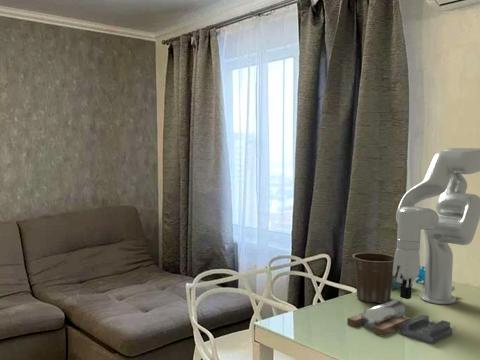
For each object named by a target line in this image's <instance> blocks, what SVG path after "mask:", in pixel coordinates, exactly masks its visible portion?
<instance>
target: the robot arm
mask: <svg viewBox="0 0 480 360" xmlns="http://www.w3.org/2000/svg"><path fill="white" fill-rule="evenodd" d="M478 172H480V147H479V148H478V147H475V148H472V147H449V148H446V149H443V150H440V151H438V152H436V154H434V156H433V157H432V160H431V162H430V164H429V166H428V169H427V172H426V174H425V175H424V178H423V179H422V181H421V182H420V183H418V184H416V185H414V186H413V187H412V188H411V189H409V190H408V191H407V192H406V193H405V194H404V195H403V196H402V198H401V200H400V202H399V205H398V207H397V210H396V213H395V221H396V223H397V233H396V234H397V235H396V248H395V252H394V255H393V256H394V263H393V277H397V280H396V282H398V283H400V286H401V287H400V289H399V291H400V294H399V296H400V298H401V299H406V300H411V299H412V290H413V289H412V288H413V284H414V281H416V280H417V278H418V277H417V276H418V275H419V268H420V269H421V267H420V266H421V265H420V264H421V261H420V260H421V258H420V250H421V249H420V248H421V235H422V234H421V231H422V230H423V232H424V234H423V235H424V240H425V241H424V242H425V261H424V262H425V264H424V267H425V269H424V270H425V285H424V287H423V288H424V292H421V293H420V294H419V299H421V300H422V301H425V302H428V303H431V304H437V305H451V304H454V303H456V300H457V299H456V297H455V296H454V295H452V292H454V291H455V290H456V287H455V286H454V285H453V267H454V265H453V264H454V254H453V251H452V248H451V246H450V244H451V245H460V246H468V245H470V244H471V243H472V241H473V240H474V238H475V235H476V231H477V228H478V224H479V222H480V196H478V195H477V194H475V193H466V192H467V189H468V183H467V180H466V178H465V177H464V175H472V174H475V173H478ZM437 196H438V199H437V201H436V204H435V205H436V206H435V208H436V209H432V208H427V207H419V206H415V205H417V204H418V203H420V202H422V201H425V200H427V199H431V198H434V197H437ZM435 210H436V211H435Z"/></svg>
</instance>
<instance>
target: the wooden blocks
mask: <svg viewBox="0 0 480 360" xmlns="http://www.w3.org/2000/svg"><path fill="white" fill-rule="evenodd" d="M361 315H362V312H361V313H358V314H355V315H352V316H350V317H347V320H346V321H347V322H346V323H347V325H348V326H351V327H354V328H355V327H359V326H361V325H364V324H363V323H362V320H361ZM409 319H412V318H411V317H408V316H405V315H404V316H400V317H398V318H395V319H392V320H390V321H387V322H385V323H382V324H380V325H377V326H375V327H374V329H373V334H375V335H378V336H382V337H383V336H385V335H388V334H390V333H393V332H396V331H397V330H398V331H399V327H400V326H401V323H402V322H405V321H407V320H409Z"/></svg>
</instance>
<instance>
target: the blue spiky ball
mask: <svg viewBox="0 0 480 360" xmlns="http://www.w3.org/2000/svg"><path fill="white" fill-rule="evenodd" d="M414 281H415V283H419V282H422V284H423V285H424V286H425V265H420V268H419V275H418V276H417V277H416V279H415V280H414Z"/></svg>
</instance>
